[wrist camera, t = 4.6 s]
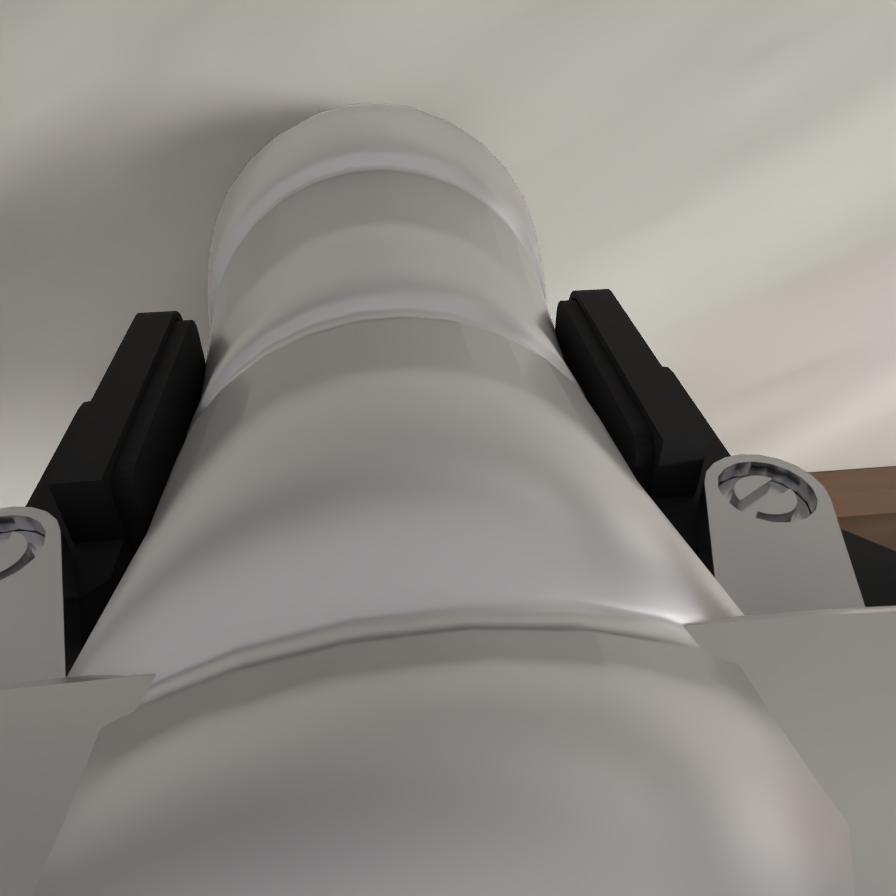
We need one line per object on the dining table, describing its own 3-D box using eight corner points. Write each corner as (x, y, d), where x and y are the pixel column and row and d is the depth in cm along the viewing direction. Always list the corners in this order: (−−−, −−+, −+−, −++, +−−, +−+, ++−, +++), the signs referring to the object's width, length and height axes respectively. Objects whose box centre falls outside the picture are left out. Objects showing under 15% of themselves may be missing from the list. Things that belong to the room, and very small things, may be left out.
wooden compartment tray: (147, 522, 21) (104, 651, 17) (995, 459, 23) (1115, 562, 19) (235, 779, 29) (219, 901, 25) (848, 715, 31) (913, 820, 28)
